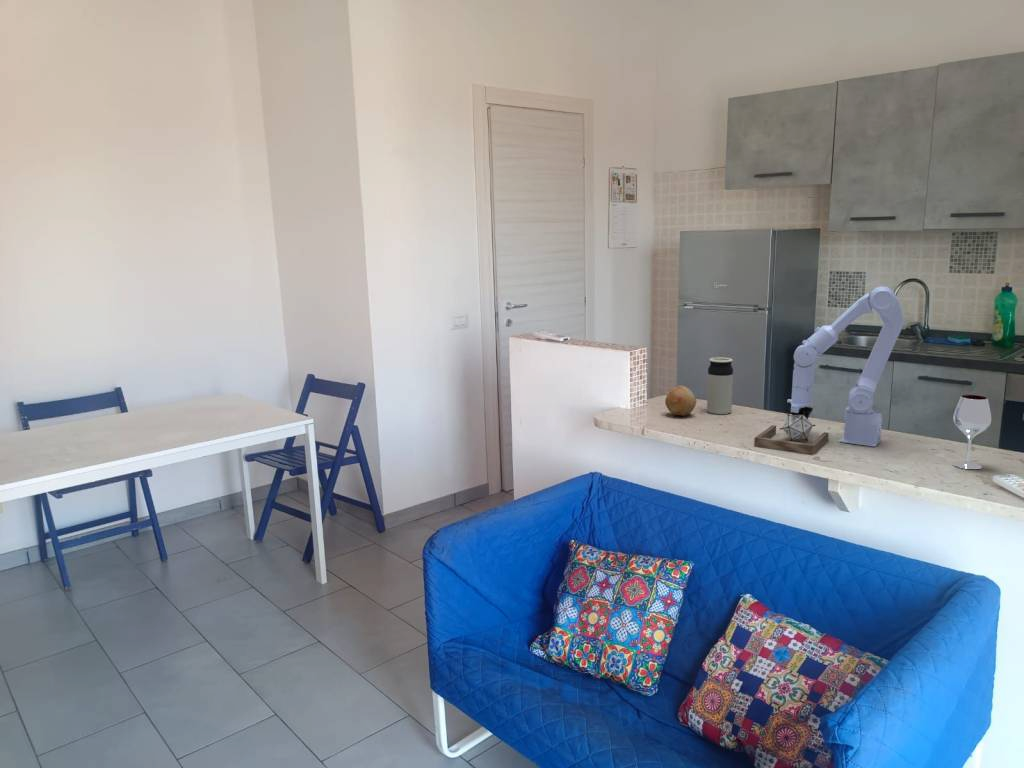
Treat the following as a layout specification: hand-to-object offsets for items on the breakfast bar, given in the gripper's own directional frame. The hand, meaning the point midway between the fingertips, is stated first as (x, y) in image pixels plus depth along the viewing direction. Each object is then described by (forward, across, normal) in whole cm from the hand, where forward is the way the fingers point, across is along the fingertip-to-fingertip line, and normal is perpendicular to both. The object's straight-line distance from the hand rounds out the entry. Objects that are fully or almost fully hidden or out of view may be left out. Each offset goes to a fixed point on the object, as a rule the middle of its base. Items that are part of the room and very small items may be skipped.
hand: (800, 431), depth 222 cm
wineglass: (+2, +7, +43) cm, 44 cm away
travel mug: (+2, -17, -31) cm, 35 cm away
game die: (+2, +5, +1) cm, 5 cm away
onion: (+2, -6, -40) cm, 40 cm away
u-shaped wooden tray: (+2, +9, 0) cm, 9 cm away
